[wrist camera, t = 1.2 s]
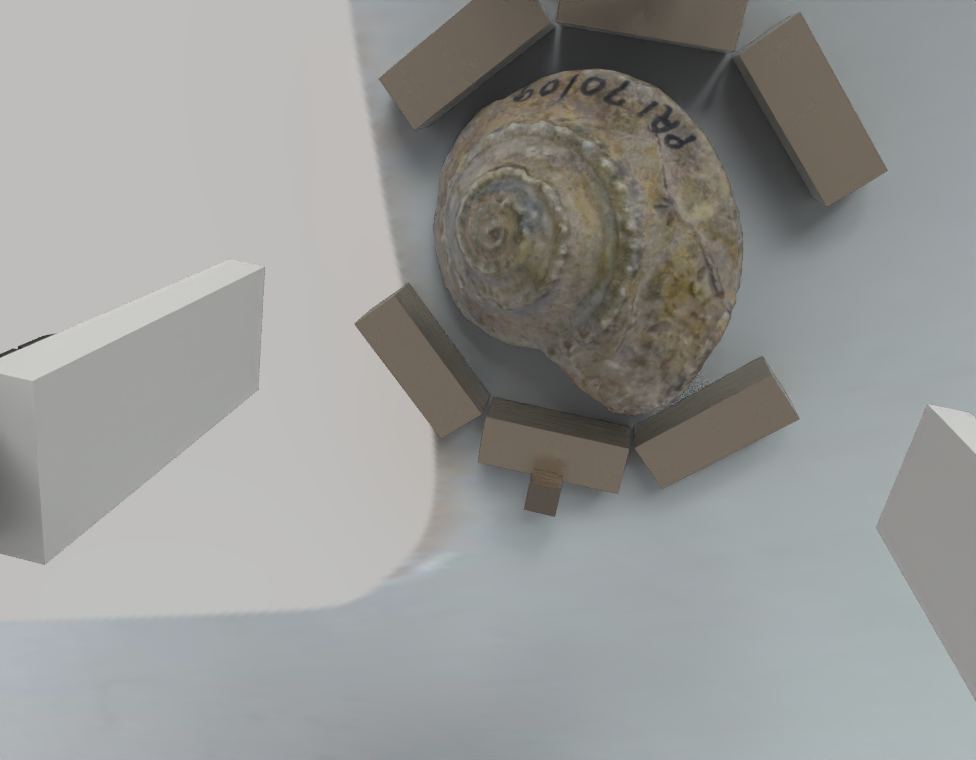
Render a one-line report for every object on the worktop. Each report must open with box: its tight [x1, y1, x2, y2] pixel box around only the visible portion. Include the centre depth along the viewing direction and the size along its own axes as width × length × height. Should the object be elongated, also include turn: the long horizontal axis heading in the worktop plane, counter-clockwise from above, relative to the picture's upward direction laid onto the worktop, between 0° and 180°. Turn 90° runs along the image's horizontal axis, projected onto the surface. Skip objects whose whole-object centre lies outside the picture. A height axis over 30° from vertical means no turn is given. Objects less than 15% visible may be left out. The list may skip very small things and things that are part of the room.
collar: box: [355, 0, 888, 517], centre depth 27 cm, size 20×17×3 cm
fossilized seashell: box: [433, 68, 743, 416], centre depth 27 cm, size 11×11×7 cm
